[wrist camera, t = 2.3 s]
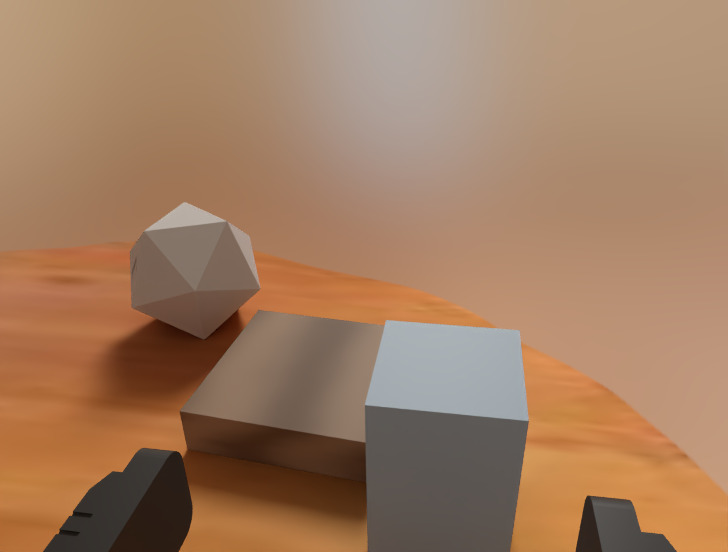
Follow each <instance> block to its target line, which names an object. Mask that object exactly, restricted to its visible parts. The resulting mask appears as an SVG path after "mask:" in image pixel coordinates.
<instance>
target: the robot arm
mask: <svg viewBox="0 0 728 552" xmlns="http://www.w3.org/2000/svg"><path fill="white" fill-rule="evenodd" d="M191 520H192V501H191V496H190V491H189V487H188V482H187V478H186V473H185V468H184V464H183V459H182V456H181V454H180V453H179V452H177V451H168V450H158V449H149V448H142V449H140V450H139V451H138V452H137V453H136V454H135V455H134V457H133V458H132V459H131V461H130V462H129V464H128V465H127V467H126V468H125V469H124V471H123V472H114V471H113V472H111V473H110V474H109V475H107V476H106V477H105V478H104V479H102V480H101V481H100V482H98V483H97V484H96V485H95V486H93V487H92V488H91V489H89V491H88V492H87V493H86V495H85V496H84V497H83V499H82V500H81V501H80V503H79V504H78V505H77V507H76V508H75V509H74V511H73V515H72V516H69V518H68V519H67V520H66V522H65V523H64V524H63V526H62V527H61V528H60V532H59V534H56V535H55V536H54V538H53V539H52V540H51V542H50V543H49V544H48V546H47V547H46V548H45V550H44V551H43V552H179V550H180V548H181V546H182V544H183V542H184V540H185V538H186V536H187V534H188V531H189V528H190V524H191ZM576 552H677V551H676V550H675V549H674V548H673V546H672V545H671V544H670V543H669V541H668V540H667V539H666V537H665V536H664V535H663V534H655V533H646V532H641V530H640V527H639V523H638V520H637V516H636V512H635V509H634V506H633V504H632V502H631V501H630V500H625V499H616V498H606V497H596V496H587V497H586V500H585V504H584V509H583V514H582V520H581V525H580V531H579V536H578V541H577V547H576Z"/></svg>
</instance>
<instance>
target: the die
mask: <svg viewBox="0 0 728 552" xmlns="http://www.w3.org/2000/svg"><path fill="white" fill-rule="evenodd" d="M130 267H131V300H132V308H133V309H136V310H138V311H140V312H142V313H145V314H147V315H149V316H151V317H154V318H156V319H158V320H161V321H163V322H165V323H167V324H170V325H172V326H174V327H176V328H179V329H181V330H183V331H185V332H188V333H190V334H192V335H194V336H197V337H199V338H201V339H203V340H205V339H206V338H207V337H208V336H209V335H210V334H211V333H212V332H214V331H215V330H216V329H217V328H218V327H219V326H220V325H221V324H222V323H223V322H225V321H226V320H227V319H228V318H229V317H230V316H231V315H232V314H233V313H234V312H236V311H237V310H238V309H239V308H240V307H241V306H242V305H243V304H244V303H245V302H247V301H248V300H249V299H250V298H251V297H252V296H253V295H254V294H255V293H256V292H258V291H259V290H260V284H259V279H258V275H257V270H256V265H255V260H254V255H253V251H252V246H251V241H250V236H248V235H247V234H245V233H244V232H242V231H241V230H239V229H238V228H236V227H235V226H233V225H232V224H230V223H229V222H227V221H225V220H223V219H221V218H219V217H216V216H214V215H212V214H210V213H208V212H205V211H203V210H201V209H199V208H197V207H194V206H192V205H190V204H188V203H186V202H184V203H183V204H181V205H180V206H178V207H177V208H176V209H174V210H173V211H171V212H170V213H169V214H167V215H166V216H164V217H163V218H162V219H160V220H159V221H158V222H156V223H155V224H153V225H152V226H151V227H149V228H148V229H147V230H145V231H144V232H143V234H142V235H141V237H140V238H139V239H138V241H137V242H136V244H135V245H134V246H133V248H132V249H131V251H130Z"/></svg>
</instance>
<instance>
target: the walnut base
mask: <svg viewBox="0 0 728 552" xmlns="http://www.w3.org/2000/svg"><path fill="white" fill-rule="evenodd" d="M384 327H385V325H376V324H368V323H360V322H352V321H344V320H336V319H328V318H319V317H311V316H303V315H295V314H287V313H279V312H271V311H262V310H258V312H257V313H256V314H255V315H254V317H253V318H252V319H251V320H250V322H249V323H248V324H247V326H246V327H245V328H244V329H243V331H242V332H241V333H240V335H239V336H238V337H237V338H236V340H235V341H234V342H233V344H232V345H231V346H230V347H229V349H228V350H227V351H226V352H225V354H224V355H223V356H222V358H221V359H220V360H219V361H218V363H217V364H216V365H215V367H214V368H213V369H212V370H211V372H210V373H209V374H208V376H207V377H206V378H205V379H204V381H203V382H202V383H201V385H200V386H199V387H198V388H197V390H196V391H195V392H194V393H193V395H192V396H191V397H190V399H189V400H188V401H187V402H186V404H185V405H184V406H183V408H182V409H181V410H180V415H181V420H182V425H183V430H184V435H185V439H186V444H187V449H188V450H194V451H199V452H204V453H210V454H215V455H220V456H226V457H231V458H237V459H242V460H247V461H253V462H258V463H263V464H269V465H274V466H280V467H285V468H290V469H296V470H301V471H306V472H312V473H317V474H322V475H328V476H333V477H339V478H344V479H349V480H355V481H360V482H365V483H366V440H365V402H366V398H367V394H368V390H369V386H370V382H371V378H372V374H373V371H374V367H375V363H376V359H377V355H378V351H379V347H380V343H381V339H382V335H383V331H384Z"/></svg>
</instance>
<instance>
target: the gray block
mask: <svg viewBox="0 0 728 552" xmlns="http://www.w3.org/2000/svg"><path fill="white" fill-rule="evenodd" d="M528 422H529V419H528V410H527V400H526V390H525V380H524V370H523V360H522V350H521V341H520V331H519V330H509V329H495V328H482V327H469V326H456V325H442V324H429V323H416V322H403V321H389V320H386V323H385V327H384V331H383V335H382V339H381V343H380V347H379V351H378V355H377V359H376V363H375V367H374V371H373V374H372V378H371V382H370V386H369V390H368V394H367V398H366V402H365V440H366V487H367V533H368V552H510V547H511V541H512V534H513V527H514V520H515V513H516V506H517V499H518V492H519V485H520V478H521V471H522V464H523V457H524V450H525V443H526V436H527V429H528Z"/></svg>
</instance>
